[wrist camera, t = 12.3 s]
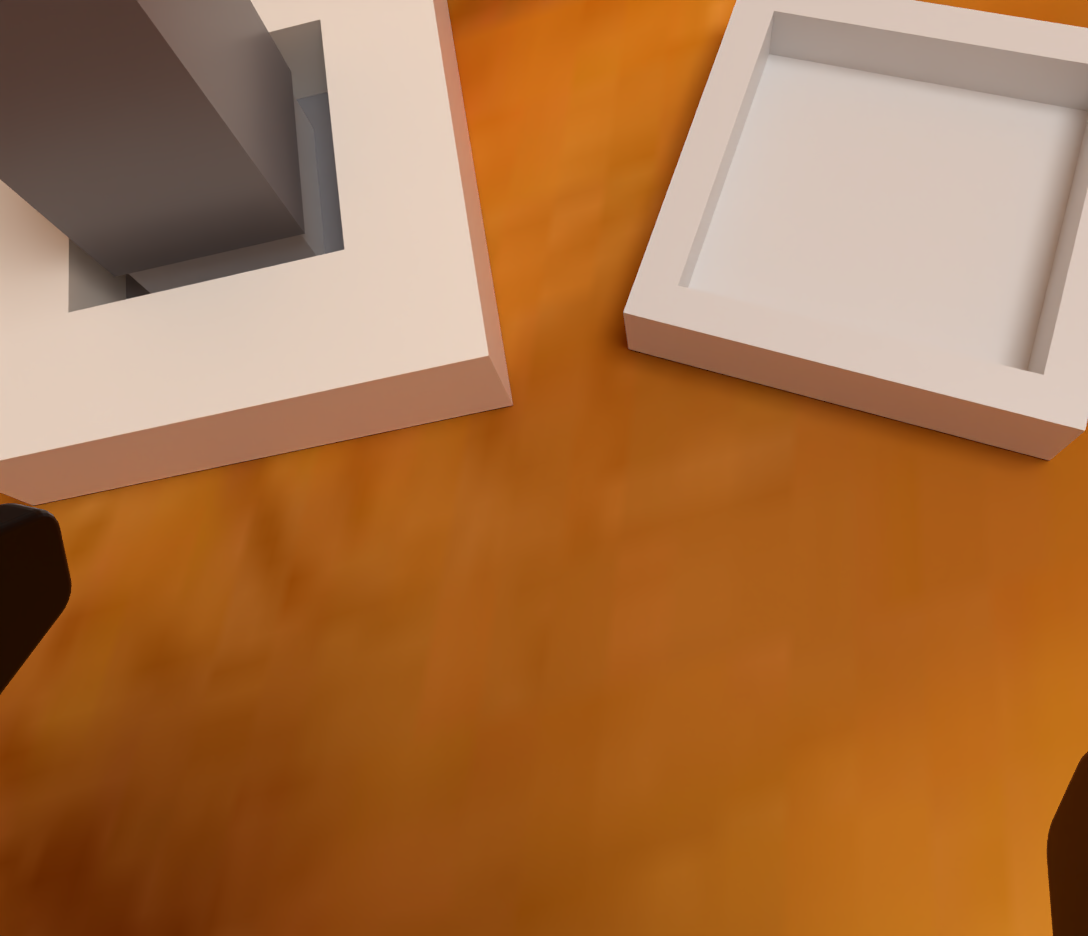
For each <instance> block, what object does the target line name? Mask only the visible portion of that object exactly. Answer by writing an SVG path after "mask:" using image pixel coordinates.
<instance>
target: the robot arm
mask: <svg viewBox="0 0 1088 936" xmlns="http://www.w3.org/2000/svg"><path fill="white" fill-rule="evenodd" d="M70 594H71V578H70V573H69V568H68V563H67V559H66V554H65V549H64V544H63V540H62V535H61V530H60V526H59V523H58V521H57V520H56V518H55V517H54V516H53V514H51V513H49V512H48V511H46V510H42V509H38V508H34V507H29V506H25V505H20V504H15V503H7V504H1V505H0V694H1V693H2V691H3V690H4V689H5V687H6V686H7V685H8V683H9V682H10V681H11V679H12V678H13V677H14V675H15V674H16V673H17V671H18V670H19V669H20V667H21V666H22V665H23V663H24V662H25V661H26V659H27V658H28V657H29V656H30V654H31V653H32V652H33V650H34V649H35V648H36V646H37V645H38V644H39V642H40V641H41V640H42V638H43V637H44V636H45V634H46V633H47V632H48V630H49V629H50V628H51V626H52V625H53V624H54V622H55V621H56V620H57V618H58V617H59V616H60V614H61V613H62V612H63V610H64V609H65V607H66V605H67V603H68V601H69V597H70ZM1047 865H1048V878H1049V891H1050V904H1051V916H1052V929H1053V936H1088V752H1087V753H1086V754H1085V755H1084V756H1083V757H1082V758H1081V760H1080V762H1079V764H1078V766H1077V768H1076V770H1075V772H1074V774H1073V777H1072V779H1071V781H1070V783H1069V785H1068V788H1067V790H1066V792H1065V794H1064V796H1063V798H1062V801H1061V803H1060V805H1059V807H1058V809H1057V812H1056V814H1055V816H1054V818H1053V820H1052V823H1051V826H1050V829H1049V833H1048V840H1047Z"/></svg>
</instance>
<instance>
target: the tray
mask: <svg viewBox="0 0 1088 936" xmlns="http://www.w3.org/2000/svg"><path fill="white" fill-rule="evenodd" d="M623 315H624V322H625V329H626V336H627V342H628V349H630V350H634V351H638V352H641V353H645V354H649V355H653V356H656V357H660V358H664V359H668V360H672V361H675V362H679V363H683V364H687V365H690V366H694V367H698V368H702V369H705V370H709V371H713V372H717V373H721V374H724V375H728V376H732V377H736V378H739V379H743V380H747V381H751V382H755V383H758V384H762V385H766V386H770V387H773V388H777V389H781V390H785V391H788V392H792V393H796V394H800V395H804V396H807V397H811V398H815V399H819V400H822V401H826V402H830V403H834V404H837V405H841V406H845V407H849V408H853V409H856V410H860V411H864V412H868V413H871V414H875V415H879V416H883V417H886V418H890V419H894V420H898V421H902V422H905V423H909V424H913V425H917V426H920V427H924V428H928V429H932V430H936V431H939V432H943V433H947V434H951V435H954V436H958V437H962V438H966V439H969V440H973V441H977V442H981V443H985V444H988V445H992V446H996V447H1000V448H1003V449H1007V450H1011V451H1015V452H1018V453H1022V454H1026V455H1030V456H1034V457H1037V458H1041V459H1045V460H1049V461H1050V460H1051V459H1052V458H1053V457H1054V456H1055V455H1057V454H1058V453H1059V452H1060V451H1061V450H1063V449H1064V448H1065V447H1066V446H1067V445H1069V444H1070V443H1071V442H1072V441H1073V440H1074V439H1076V438H1077V437H1078V436H1079V435H1080V434H1082V433H1083V432H1084V431H1085V428H1086V423H1087V419H1088V28H1083V27H1077V26H1071V25H1064V24H1058V23H1052V22H1046V21H1039V20H1033V19H1027V18H1021V17H1014V16H1008V15H1002V14H996V13H989V12H983V11H977V10H971V9H964V8H958V7H952V6H946V5H939V4H933V3H927V2H921V1H915V0H737V1H736V4H735V6H734V9H733V12H732V15H731V17H730V20H729V23H728V26H727V28H726V31H725V34H724V37H723V39H722V42H721V45H720V48H719V50H718V53H717V56H716V59H715V61H714V64H713V67H712V70H711V72H710V75H709V78H708V81H707V83H706V86H705V89H704V92H703V94H702V97H701V100H700V103H699V105H698V108H697V111H696V114H695V116H694V119H693V122H692V125H691V127H690V130H689V133H688V136H687V138H686V141H685V144H684V147H683V149H682V152H681V155H680V158H679V160H678V163H677V166H676V169H675V171H674V174H673V177H672V180H671V182H670V185H669V188H668V191H667V193H666V196H665V199H664V202H663V204H662V207H661V210H660V213H659V215H658V218H657V221H656V224H655V226H654V229H653V232H652V235H651V237H650V240H649V243H648V246H647V248H646V251H645V254H644V257H643V259H642V262H641V265H640V268H639V270H638V273H637V276H636V279H635V281H634V284H633V287H632V290H631V292H630V295H629V298H628V301H627V303H626V306H625V309H624V312H623Z"/></svg>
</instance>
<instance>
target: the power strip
mask: <svg viewBox="0 0 1088 936" xmlns="http://www.w3.org/2000/svg"><path fill="white" fill-rule="evenodd" d="M250 1H251V2H252V4H253V6H254V8H255V9H256V11H257V13H258V15H259V16H260V18H261V20H262V21H263V23H264V25H265V27H266V28H267V30H268V32H269V34H270V35H271V37H272V39H273V41H274V42H275V44H276V46H277V48H278V49H279V51H280V53H281V55H282V56H283V58H284V60H285V62H286V63H287V65H288V67H289V69H290V70H291V74H292V86H293V95H294V97H295V98H296V100H297V102H298V103H299V105H300V107H301V108H302V110H303V112H304V113H305V115H306V117H307V119H308V120H309V122H310V124H311V125H312V127H313V129H314V139H315V150H316V161H317V172H318V183H319V194H320V205H321V215H322V226H323V237H324V248H325V254H323V255H318V256H314V257H310V258H305V259H301V260H296V261H292V262H288V263H283V264H279V265H275V266H270V267H266V268H261V269H257V270H253V271H248V272H244V273H240V274H235V275H231V276H226V277H222V278H218V279H213V280H209V281H204V282H200V283H196V284H191V285H187V286H183V287H178V288H174V289H169V290H165V291H161V292H156V293H152V294H151V293H150V292H149V291H147V290H146V289H145V288H144V287H143V286H142V285H141V284H139V283H138V282H137V281H136V280H135V279H134V278H133V277H131V276H130V275H129V274H125V275H121V276H116V277H114V276H113V275H112V274H111V273H110V272H108V271H107V270H106V269H105V268H104V267H102V266H101V265H100V264H99V263H98V262H97V261H95V260H94V259H93V258H92V257H91V256H90V255H88V254H87V253H86V252H85V251H84V250H83V249H81V248H80V247H79V246H78V245H77V244H75V243H74V242H73V241H72V240H71V239H70V238H68V237H67V236H66V235H65V234H64V233H63V232H61V231H60V230H59V229H58V228H57V227H56V226H54V225H53V224H52V223H51V222H50V221H48V220H47V219H46V218H45V217H44V216H43V215H41V214H40V213H39V212H38V211H37V210H36V209H34V208H33V207H32V206H31V205H30V204H28V203H27V202H26V201H25V200H24V199H23V198H21V197H20V196H19V195H18V194H17V193H16V192H14V191H13V190H12V189H11V188H10V187H9V186H7V185H6V184H5V183H4V182H3V181H1V180H0V493H3V494H5V495H8V496H10V497H13V498H15V499H18V500H20V501H23V502H25V503H28V504H30V505H33V506H34V505H38V504H43V503H48V502H53V501H57V500H62V499H67V498H72V497H77V496H81V495H86V494H91V493H96V492H100V491H105V490H110V489H115V488H120V487H124V486H129V485H134V484H139V483H143V482H148V481H153V480H158V479H163V478H167V477H172V476H177V475H182V474H186V473H191V472H196V471H201V470H206V469H210V468H215V467H220V466H225V465H229V464H234V463H239V462H244V461H249V460H253V459H258V458H263V457H268V456H273V455H277V454H282V453H287V452H292V451H296V450H301V449H306V448H311V447H316V446H320V445H325V444H330V443H335V442H339V441H344V440H349V439H354V438H359V437H363V436H368V435H373V434H378V433H382V432H387V431H392V430H397V429H402V428H406V427H411V426H416V425H421V424H425V423H430V422H435V421H440V420H445V419H449V418H454V417H459V416H464V415H468V414H473V413H478V412H483V411H488V410H492V409H497V408H502V407H507V406H511V405H513V403H512V397H511V390H510V384H509V378H508V372H507V366H506V360H505V354H504V348H503V341H502V335H501V329H500V323H499V317H498V311H497V305H496V299H495V292H494V286H493V280H492V274H491V268H490V262H489V256H488V250H487V243H486V237H485V231H484V225H483V219H482V213H481V207H480V201H479V194H478V188H477V182H476V176H475V170H474V164H473V158H472V152H471V145H470V139H469V133H468V127H467V121H466V115H465V109H464V103H463V96H462V90H461V84H460V78H459V72H458V66H457V60H456V54H455V47H454V41H453V35H452V29H451V23H450V17H449V11H448V5H447V0H250Z"/></svg>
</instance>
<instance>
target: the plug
mask: <svg viewBox="0 0 1088 936" xmlns="http://www.w3.org/2000/svg"><path fill="white" fill-rule="evenodd" d="M0 180H1V181H3V182H4V183H5V184H6V185H7V186H9V187H10V188H11V189H12V190H13V191H14V192H16V193H17V194H18V195H19V196H20V197H21V198H23V199H24V200H25V201H26V202H27V203H28V204H30V205H31V206H32V207H33V208H34V209H36V210H37V211H38V212H39V213H40V214H41V215H43V216H44V217H45V218H46V219H47V220H48V221H50V222H51V223H52V224H53V225H54V226H56V227H57V228H58V229H59V230H60V231H61V232H63V233H64V234H65V235H66V236H67V237H68V238H70V239H71V240H72V241H73V242H74V243H75V244H77V245H78V246H79V247H80V248H81V249H83V250H84V251H85V252H86V253H87V254H88V255H90V256H91V257H92V258H93V259H94V260H95V261H97V262H98V263H99V264H100V265H101V266H102V267H104V268H105V269H106V270H107V271H108V272H110V273H111V274H112V275H113V276H114V277H116V276H121V275H125V274H129V275H130V276H131V277H133V278H134V279H135V280H136V281H137V282H138V283H139V284H141V285H142V286H143V287H144V288H145V289H146V290H147V291H149V292H150V293H151V294H152V293H156V292H161V291H165V290H169V289H174V288H178V287H183V286H187V285H191V284H196V283H200V282H204V281H209V280H213V279H218V278H222V277H226V276H231V275H235V274H240V273H244V272H248V271H253V270H257V269H261V268H266V267H270V266H275V265H279V264H283V263H288V262H292V261H296V260H301V259H305V258H310V257H314V256H318V255H323V254H325V248H324V237H323V226H322V215H321V205H320V194H319V183H318V172H317V161H316V150H315V139H314V129H313V127H312V125H311V124H310V122H309V120H308V119H307V117H306V115H305V113H304V112H303V110H302V108H301V107H300V105H299V103H298V102H297V100H296V98H295V97H294V95H293V86H292V74H291V70H290V69H289V67H288V65H287V63H286V62H285V60H284V58H283V56H282V55H281V53H280V51H279V49H278V48H277V46H276V44H275V42H274V41H273V39H272V37H271V35H270V34H269V32H268V30H267V28H266V27H265V25H264V23H263V21H262V20H261V18H260V16H259V15H258V13H257V11H256V9H255V8H254V6H253V4H252V2H251V1H250V0H0Z"/></svg>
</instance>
